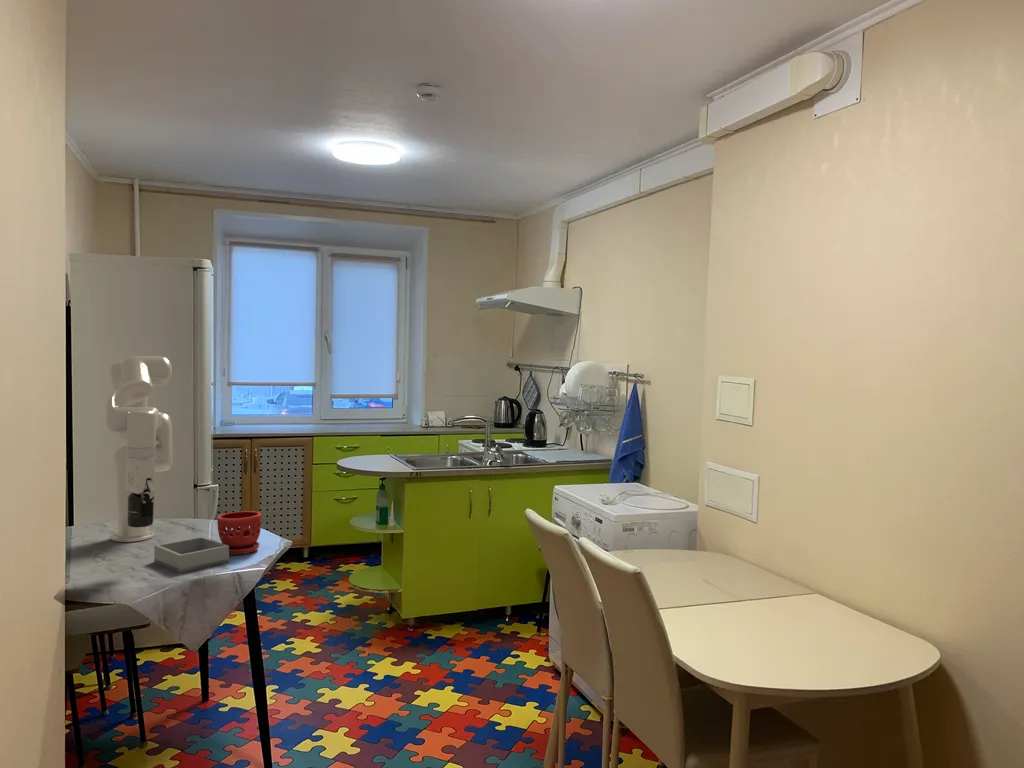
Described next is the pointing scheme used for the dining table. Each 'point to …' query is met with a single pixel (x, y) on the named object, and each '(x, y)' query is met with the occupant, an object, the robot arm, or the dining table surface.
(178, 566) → the tray
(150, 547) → the dining table surface
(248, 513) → the plant pot
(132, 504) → the supplement bottle
